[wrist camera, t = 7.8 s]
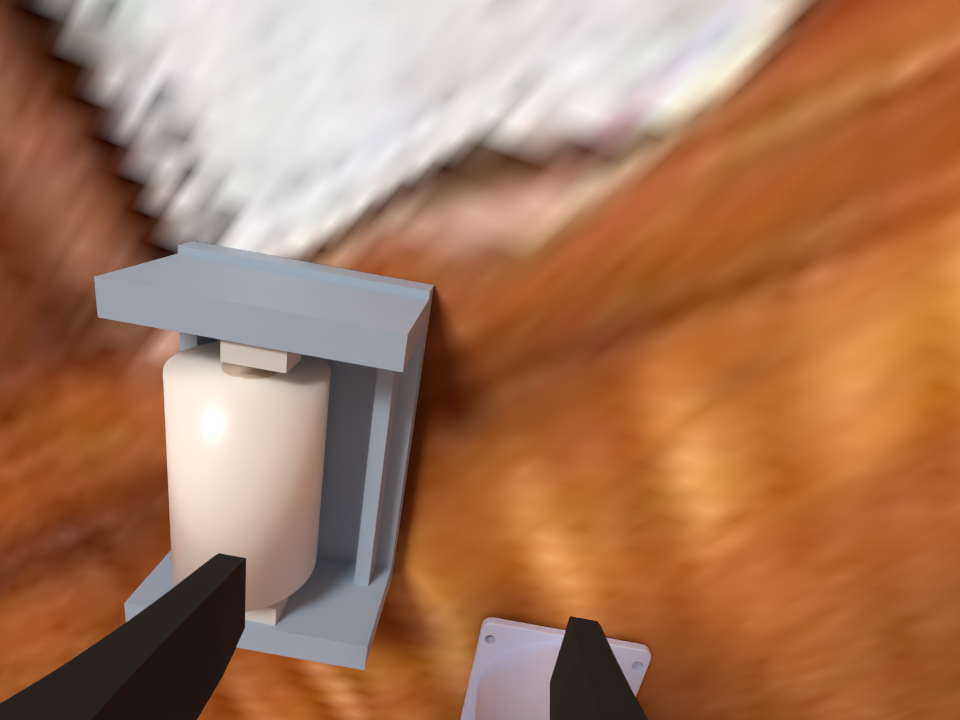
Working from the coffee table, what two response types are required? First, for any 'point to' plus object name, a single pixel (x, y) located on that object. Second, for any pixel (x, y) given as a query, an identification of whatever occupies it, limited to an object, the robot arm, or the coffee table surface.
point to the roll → (245, 467)
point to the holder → (350, 421)
